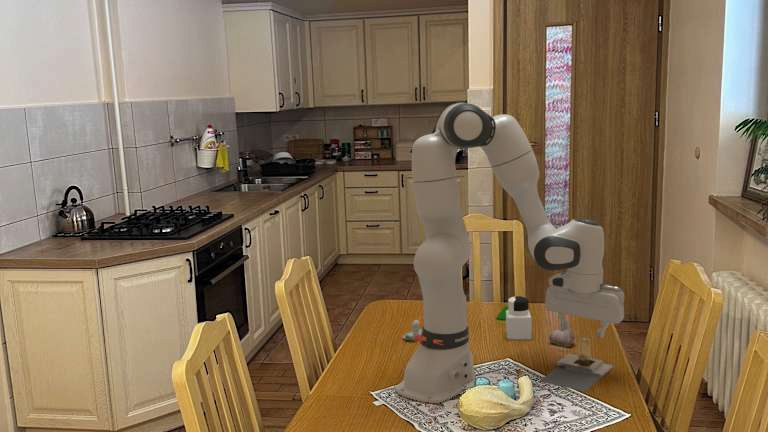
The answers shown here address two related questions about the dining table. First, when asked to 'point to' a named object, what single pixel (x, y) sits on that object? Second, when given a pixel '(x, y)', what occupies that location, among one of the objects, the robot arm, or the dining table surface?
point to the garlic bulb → (562, 337)
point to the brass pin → (584, 351)
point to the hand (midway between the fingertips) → (582, 332)
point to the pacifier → (415, 331)
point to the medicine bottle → (518, 319)
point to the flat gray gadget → (594, 369)
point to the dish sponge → (502, 316)
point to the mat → (571, 379)
